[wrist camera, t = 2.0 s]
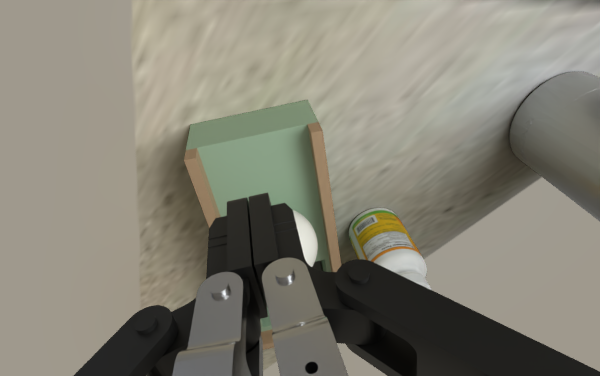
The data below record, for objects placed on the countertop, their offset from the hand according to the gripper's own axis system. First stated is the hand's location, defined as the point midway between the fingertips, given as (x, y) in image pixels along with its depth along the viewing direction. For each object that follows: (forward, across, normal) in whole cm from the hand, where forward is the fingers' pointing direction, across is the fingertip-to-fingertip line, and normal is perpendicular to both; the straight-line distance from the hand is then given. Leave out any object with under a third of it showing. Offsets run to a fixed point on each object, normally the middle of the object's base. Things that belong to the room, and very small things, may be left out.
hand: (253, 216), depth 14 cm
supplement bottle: (+19, -10, +18) cm, 28 cm away
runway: (+19, 0, +14) cm, 24 cm away
